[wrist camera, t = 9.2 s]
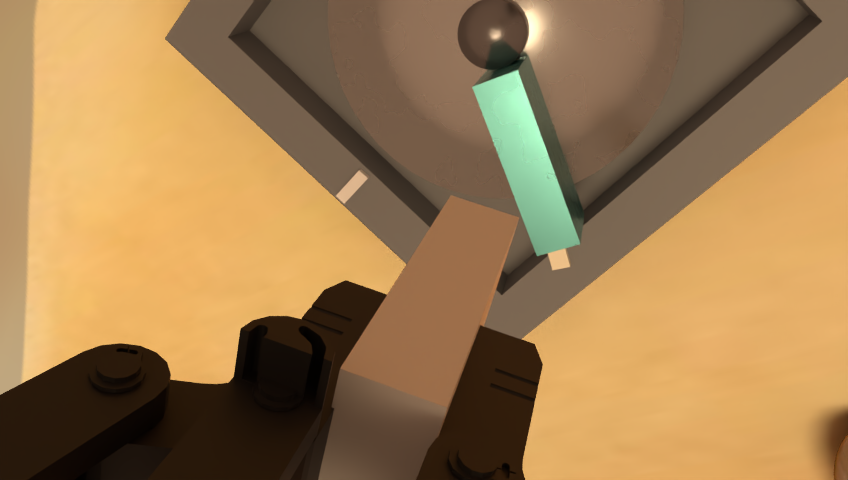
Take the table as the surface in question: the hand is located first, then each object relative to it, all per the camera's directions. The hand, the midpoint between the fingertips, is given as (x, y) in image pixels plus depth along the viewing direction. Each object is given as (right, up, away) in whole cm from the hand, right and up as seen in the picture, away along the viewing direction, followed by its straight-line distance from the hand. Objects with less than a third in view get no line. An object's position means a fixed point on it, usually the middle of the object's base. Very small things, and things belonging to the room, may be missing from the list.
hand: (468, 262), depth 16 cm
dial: (+3, +10, +20) cm, 23 cm away
